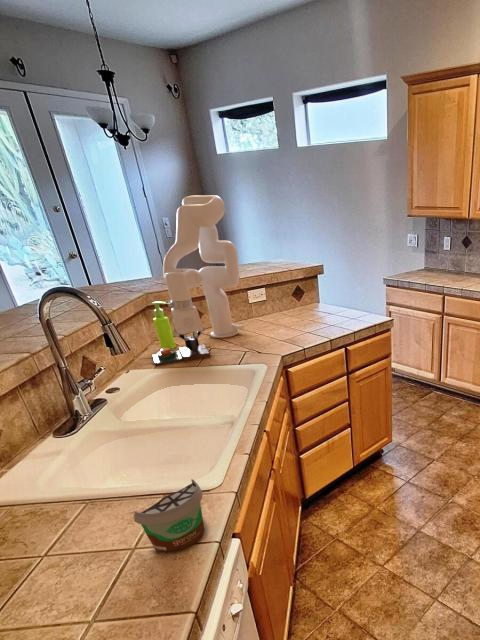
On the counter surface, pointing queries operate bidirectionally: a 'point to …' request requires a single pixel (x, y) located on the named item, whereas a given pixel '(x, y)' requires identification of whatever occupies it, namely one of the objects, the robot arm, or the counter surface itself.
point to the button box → (167, 358)
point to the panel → (194, 353)
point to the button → (165, 351)
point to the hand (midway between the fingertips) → (193, 348)
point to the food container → (174, 520)
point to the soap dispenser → (163, 327)
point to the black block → (193, 344)
